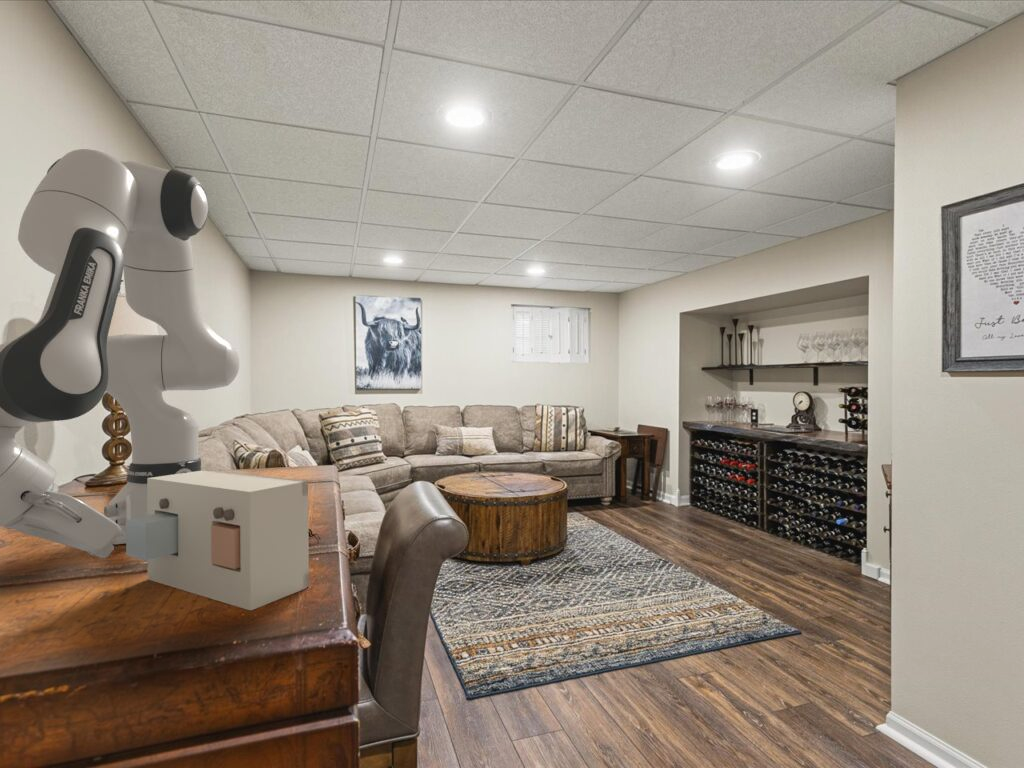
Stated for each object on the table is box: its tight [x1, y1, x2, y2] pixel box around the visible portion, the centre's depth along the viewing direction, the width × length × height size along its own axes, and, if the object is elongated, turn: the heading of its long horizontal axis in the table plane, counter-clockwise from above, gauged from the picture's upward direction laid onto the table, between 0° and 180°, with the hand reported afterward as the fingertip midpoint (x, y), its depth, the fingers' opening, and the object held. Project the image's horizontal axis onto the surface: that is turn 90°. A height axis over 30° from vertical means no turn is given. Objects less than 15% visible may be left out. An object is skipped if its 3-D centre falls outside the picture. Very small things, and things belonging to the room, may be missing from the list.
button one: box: [125, 512, 178, 562], centre depth 77 cm, size 5×8×5 cm, turn 151°
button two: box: [211, 523, 241, 569], centre depth 73 cm, size 5×8×5 cm, turn 151°
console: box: [147, 469, 310, 611], centre depth 77 cm, size 24×10×15 cm, turn 61°
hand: (104, 551), depth 70 cm, fingers closed
